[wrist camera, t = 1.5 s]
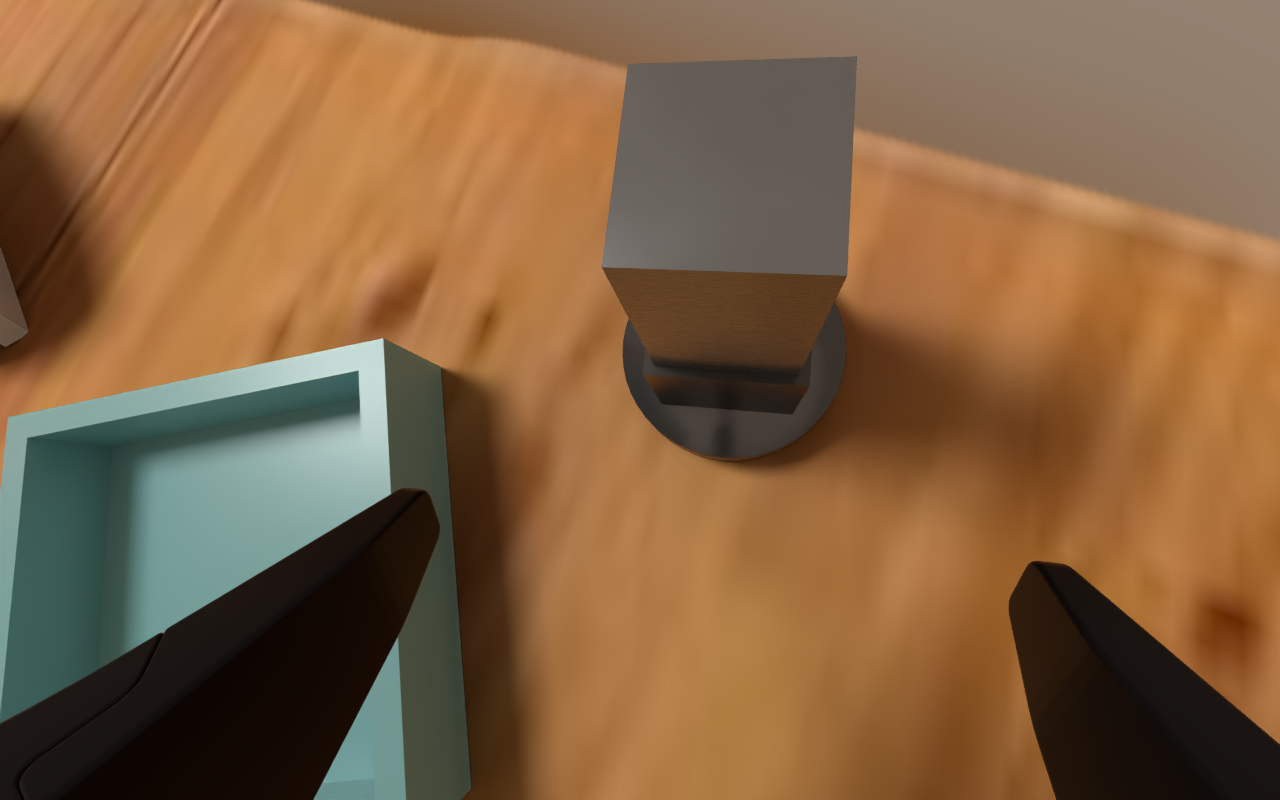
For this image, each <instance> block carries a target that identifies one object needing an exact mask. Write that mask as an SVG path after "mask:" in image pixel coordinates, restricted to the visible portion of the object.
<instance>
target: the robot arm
mask: <svg viewBox="0 0 1280 800" xmlns="http://www.w3.org/2000/svg"><path fill="white" fill-rule="evenodd" d="M439 535H440V523H439V519H438V517H437V514H436V511H435V508H434V505H433V502H432V499H431V496H430V494H429V493H428V492H427V491H426V490H424V489H416V488H407V487H406V488H401V489H399V490H397V491H395V492H393V493H392V494H390V495H388V496H387V497H385V498H383V499H382V500H380V501H378V502H377V503H375V504H373V505H372V506H370V507H368V508H367V509H365V510H363V511H362V512H360V513H358V514H357V515H355V516H353V517H352V518H350V519H348V520H347V521H345V522H343V523H342V524H340V525H338V526H337V527H335V528H333V529H332V530H330V531H328V532H327V533H325V534H323V535H322V536H320V537H318V538H317V539H315V540H313V541H312V542H310V543H308V544H307V545H305V546H303V547H302V548H300V549H298V550H297V551H295V552H293V553H292V554H290V555H288V556H287V557H285V558H283V559H282V560H280V561H278V562H277V563H275V564H273V565H272V566H270V567H268V568H267V569H265V570H263V571H262V572H260V573H258V574H257V575H255V576H253V577H252V578H250V579H248V580H247V581H245V582H243V583H242V584H240V585H238V586H237V587H235V588H233V589H232V590H230V591H228V592H227V593H225V594H223V595H222V596H220V597H218V598H217V599H215V600H213V601H212V602H210V603H208V604H207V605H205V606H203V607H202V608H200V609H198V610H197V611H195V612H193V613H192V614H190V615H188V616H187V617H185V618H183V619H182V620H180V621H178V622H177V623H175V624H173V625H172V626H170V627H168V628H167V629H166V630H165V632H164V633H158V634H157V635H155V636H153V637H152V638H150V639H148V640H147V641H145V642H143V643H142V644H140V645H138V646H137V647H135V648H133V649H132V650H130V651H128V652H127V653H125V654H123V655H121V656H120V657H118V658H116V659H115V660H113V661H111V662H109V663H108V664H106V665H104V666H103V667H101V668H99V669H97V670H96V671H94V672H92V673H90V674H89V675H87V676H85V677H84V678H82V679H80V680H78V681H76V682H75V683H73V684H71V685H69V686H67V687H66V688H64V689H62V690H60V691H58V692H56V693H55V694H53V695H51V696H49V697H47V698H46V699H44V700H42V701H40V702H38V703H36V704H35V705H33V706H31V707H29V708H27V709H25V710H24V711H22V712H20V713H18V714H16V715H14V716H12V717H11V718H9V719H7V720H5V721H3V722H1V723H0V800H314V798H315V796H316V794H317V792H318V790H319V788H320V787H321V785H322V783H323V781H324V779H325V777H326V775H327V773H328V771H329V769H330V767H331V765H332V763H333V761H334V759H335V758H336V756H337V754H338V752H339V750H340V748H341V746H342V744H343V742H344V740H345V738H346V736H347V734H348V732H349V730H350V729H351V727H352V725H353V723H354V721H355V719H356V717H357V715H358V713H359V711H360V709H361V707H362V705H363V703H364V701H365V700H366V698H367V696H368V694H369V692H370V690H371V688H372V686H373V684H374V682H375V680H376V678H377V676H378V674H379V672H380V671H381V669H382V667H383V665H384V663H385V661H386V659H387V657H388V655H389V653H390V651H391V649H392V647H393V645H394V643H395V642H396V640H397V638H398V636H399V634H400V632H401V630H402V627H403V625H404V623H405V621H406V619H407V617H408V614H409V612H410V610H411V607H412V605H413V602H414V600H415V597H416V594H417V592H418V589H419V587H420V584H421V582H422V579H423V577H424V574H425V572H426V569H427V567H428V564H429V562H430V559H431V557H432V554H433V551H434V549H435V546H436V544H437V541H438V539H439ZM1009 616H1010V621H1011V626H1012V631H1013V635H1014V640H1015V645H1016V650H1017V655H1018V659H1019V664H1020V669H1021V674H1022V679H1023V684H1024V688H1025V693H1026V698H1027V703H1028V708H1029V712H1030V716H1031V720H1032V724H1033V728H1034V731H1035V735H1036V738H1037V741H1038V745H1039V748H1040V751H1041V754H1042V757H1043V760H1044V763H1045V766H1046V769H1047V772H1048V776H1049V779H1050V782H1051V785H1052V788H1053V791H1054V794H1055V797H1056V800H1280V744H1279V743H1278V742H1276V741H1275V740H1274V739H1273V738H1272V737H1270V736H1269V735H1268V734H1267V733H1266V732H1265V731H1263V730H1262V729H1261V728H1260V727H1259V726H1258V725H1256V724H1255V723H1254V722H1253V721H1252V720H1250V719H1249V718H1248V717H1247V716H1246V715H1245V714H1243V713H1242V712H1241V711H1240V710H1239V709H1237V708H1236V707H1235V706H1234V705H1233V704H1232V703H1230V702H1229V701H1228V700H1227V699H1226V698H1225V697H1223V696H1222V695H1221V694H1220V693H1219V692H1217V691H1216V690H1215V689H1214V688H1213V687H1212V686H1210V685H1209V684H1208V683H1207V682H1206V681H1205V680H1203V679H1202V678H1201V677H1200V676H1199V675H1197V674H1196V673H1195V672H1194V671H1193V670H1192V669H1190V668H1189V667H1188V666H1187V665H1186V664H1184V663H1183V662H1182V661H1181V660H1180V659H1179V658H1177V657H1176V656H1175V655H1174V654H1173V653H1172V652H1170V651H1169V650H1168V649H1167V648H1166V647H1164V646H1163V645H1162V644H1161V643H1160V642H1159V641H1157V640H1156V639H1155V638H1154V637H1153V636H1151V635H1150V634H1149V633H1148V632H1147V631H1146V630H1144V629H1143V628H1142V627H1141V626H1140V625H1139V624H1137V623H1136V622H1135V621H1134V620H1133V619H1131V618H1130V617H1129V616H1128V615H1127V614H1126V613H1124V612H1123V611H1122V610H1121V609H1120V608H1119V607H1117V606H1116V605H1115V604H1114V603H1113V602H1111V601H1110V600H1109V599H1108V598H1107V597H1106V596H1104V595H1103V594H1102V593H1101V592H1100V591H1098V590H1097V589H1096V588H1095V587H1094V586H1093V585H1091V584H1090V583H1089V582H1088V581H1087V580H1086V579H1084V578H1083V577H1082V576H1081V575H1080V574H1078V573H1077V572H1076V571H1075V570H1074V569H1072V568H1071V567H1069V566H1067V565H1065V564H1060V563H1052V562H1044V561H1033V562H1031V563H1029V564H1028V565H1027V567H1026V569H1025V570H1024V572H1023V574H1022V576H1021V578H1020V580H1019V582H1018V583H1017V585H1016V587H1015V589H1014V591H1013V593H1012V595H1011V597H1010V600H1009Z"/></svg>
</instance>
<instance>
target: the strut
mask: <svg viewBox="0 0 1280 800" xmlns="http://www.w3.org/2000/svg"><path fill="white" fill-rule="evenodd" d="M856 62H857V57H828V58H796V59H767V60H735V61H704V62H673V63H642V64H628V70H627V77H626V85H625V93H624V100H623V108H622V116H621V124H620V131H619V139H618V147H617V154H616V162H615V170H614V177H613V185H612V193H611V200H610V208H609V216H608V223H607V231H606V239H605V246H604V254H603V262H602V269H603V270H604V272H605V274H606V276H607V278H608V280H609V282H610V284H611V286H612V287H613V289H614V291H615V293H616V295H617V297H618V299H619V301H620V302H621V304H622V306H623V308H624V310H625V312H626V314H627V316H628V317H629V319H630V321H631V323H632V325H633V327H634V329H635V331H636V332H637V334H638V336H639V338H640V340H641V342H642V344H643V346H644V347H645V355H644V364H643V373H642V375H643V376H644V378H645V379H646V381H647V382H648V384H649V385H650V387H651V389H652V390H653V392H654V393H655V395H656V396H657V398H658V399H659V401H660V402H661V404H664V405H677V406H689V407H702V408H715V409H727V410H740V411H753V412H765V413H778V414H791V415H792V414H793V413H794V411H795V409H796V408H797V406H798V405H799V403H800V401H801V400H802V398H803V396H804V395H805V393H806V392H807V390H808V388H809V387H810V374H811V356H812V347H813V345H814V343H815V341H816V339H817V337H818V334H819V332H820V330H821V328H822V326H823V324H824V322H825V320H826V318H827V316H828V314H829V312H830V310H831V308H832V306H833V304H834V302H835V300H836V297H837V295H838V293H839V291H840V289H841V287H842V285H843V283H844V281H845V279H846V277H847V265H848V243H849V221H850V198H851V176H852V154H853V132H854V109H855V87H856V65H857V63H856Z"/></svg>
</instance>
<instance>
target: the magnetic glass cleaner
mask: <svg viewBox="0 0 1280 800" xmlns="http://www.w3.org/2000/svg"><path fill="white" fill-rule="evenodd" d="M27 332H28V328H27V325H26V322H25V319H24V316H23V313H22V310H21V307H20V304H19V301H18V298H17V295H16V292H15V289H14V286H13V283H12V280H11V277H10V274H9V271H8V268H7V265H6V262H5V259H4V256H3V253H2V250H1V247H0V344H1V345H3V346H4V347H6V346H8V345H10V344H12V343H14V342H15V341H17V340H19V339H21V338H22V337H23V336H24V335H25V334H26V333H27Z"/></svg>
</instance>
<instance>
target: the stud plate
mask: <svg viewBox="0 0 1280 800" xmlns="http://www.w3.org/2000/svg"><path fill="white" fill-rule="evenodd" d="M644 355H645V347H644V346H643V344H642V342H641V340H640V338H639V336H638V334H637V332H636V331H635V329H634V327H633V325H632V323H631V321H630V319H629V320H628V323H627V326H626V330H625V335H624V340H623V365H624V371H625V376H626V380H627V383H628V386H629V389H630V392H631V394H632V396H633V398H634V400H635V402H636V404H637V405H638V407H639V408H640V410H641V411H642V413H643V414H644V415H645V417H646V418H647V419H648V420H649V421H650V422H651V424H652V425H653V426H654V427H655V428H656V429H657V430H658V431H659V432H660V433H661V434H662V435H663V436H665V437H666V438H667V439H668V440H669V441H671V442H672V443H674V444H675V445H677V446H679V447H680V448H682V449H684V450H686V451H688V452H691V453H693V454H695V455H698V456H702V457H705V458H708V459H714V460H721V461H744V460H752V459H756V458H761V457H765V456H767V455H770V454H773V453H775V452H778V451H780V450H782V449H784V448H786V447H787V446H789V445H791V444H792V443H794V442H795V441H797V440H798V439H799V438H801V437H802V436H803V435H804V434H805V433H806V432H807V431H808V430H809V429H810V428H812V427H813V425H814V424H815V423H816V422H817V421H818V420H819V419H820V418H821V416H822V415H823V414H824V413H825V411H826V410H827V409H828V407H829V405H830V404H831V402H832V400H833V399H834V397H835V395H836V393H837V390H838V388H839V386H840V383H841V380H842V376H843V372H844V369H845V360H846V338H845V332H844V326H843V323H842V320H841V317H840V314H839V311H838V309H837V307H836V305H835V303H834V304H833V306H832V308H831V310H830V312H829V314H828V316H827V318H826V320H825V322H824V324H823V326H822V328H821V330H820V332H819V334H818V337H817V339H816V341H815V343H814V345H813V347H812V356H811V374H810V387H809V388H808V390H807V392H806V393H805V395H804V396H803V398H802V400H801V401H800V403H799V405H798V406H797V408H796V409H795V411H794V413H793V414H792V415H791V414H778V413H765V412H753V411H740V410H727V409H715V408H702V407H689V406H677V405H664V404H661V402H660V401H659V399H658V398H657V396H656V395H655V393H654V392H653V390H652V389H651V387H650V385H649V384H648V382H647V381H646V379H645V378H644V376H643V375H642V373H643V364H644Z"/></svg>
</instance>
